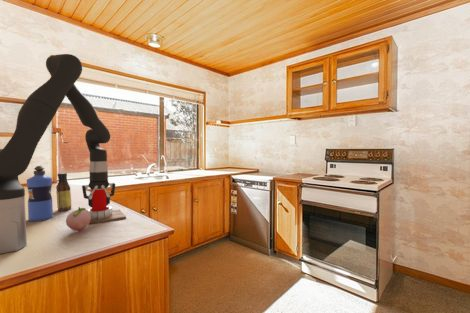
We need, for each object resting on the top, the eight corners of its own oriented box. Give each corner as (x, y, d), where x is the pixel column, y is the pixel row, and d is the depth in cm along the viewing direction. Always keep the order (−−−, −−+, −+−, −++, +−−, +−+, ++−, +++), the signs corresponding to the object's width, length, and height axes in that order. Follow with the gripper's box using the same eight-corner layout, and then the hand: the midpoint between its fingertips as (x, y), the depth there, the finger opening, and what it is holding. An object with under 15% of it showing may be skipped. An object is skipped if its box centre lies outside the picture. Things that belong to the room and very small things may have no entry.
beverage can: (90, 215, 110) (89, 189, 110) (94, 212, 116) (93, 187, 116) (105, 214, 112) (104, 189, 111) (108, 211, 118) (107, 187, 117)
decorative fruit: (70, 229, 99) (69, 205, 98) (93, 226, 102) (92, 203, 101) (63, 237, 90) (62, 211, 90) (88, 234, 93) (87, 209, 93)
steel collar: (113, 216, 113) (113, 209, 113) (87, 220, 107) (87, 213, 107) (110, 212, 121) (110, 205, 121) (86, 215, 115) (86, 208, 115)
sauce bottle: (74, 208, 132) (73, 172, 132) (65, 211, 126) (64, 174, 125) (63, 208, 133) (62, 172, 132) (53, 211, 127) (52, 173, 126)
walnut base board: (126, 218, 113) (125, 216, 113) (75, 226, 102) (75, 224, 102) (119, 211, 126) (119, 209, 126) (74, 217, 115) (74, 215, 115)
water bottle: (31, 222, 107) (29, 167, 106) (25, 219, 113) (23, 166, 112) (56, 217, 115) (54, 165, 114) (49, 214, 120) (48, 165, 119)
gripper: (81, 172, 106) (81, 209, 107) (116, 170, 114) (117, 205, 115) (80, 171, 112) (81, 206, 113) (114, 169, 120) (114, 202, 121)
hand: (99, 205), depth 114 cm, fingers closed on beverage can, 6 cm apart
